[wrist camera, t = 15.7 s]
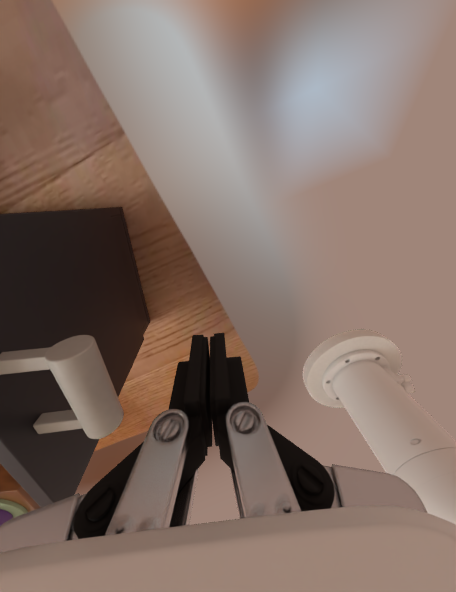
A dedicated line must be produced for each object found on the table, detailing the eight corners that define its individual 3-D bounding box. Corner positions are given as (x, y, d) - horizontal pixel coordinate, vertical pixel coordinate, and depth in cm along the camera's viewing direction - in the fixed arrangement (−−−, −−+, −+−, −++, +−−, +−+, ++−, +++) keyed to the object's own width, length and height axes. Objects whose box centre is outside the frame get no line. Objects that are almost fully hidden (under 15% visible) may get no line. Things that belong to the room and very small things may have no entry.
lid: (49, 518, 11) (138, 504, 12) (-222, 227, 5) (-6, 214, 5) (137, 339, 26) (175, 335, 27) (99, 208, 20) (150, 205, 20)
